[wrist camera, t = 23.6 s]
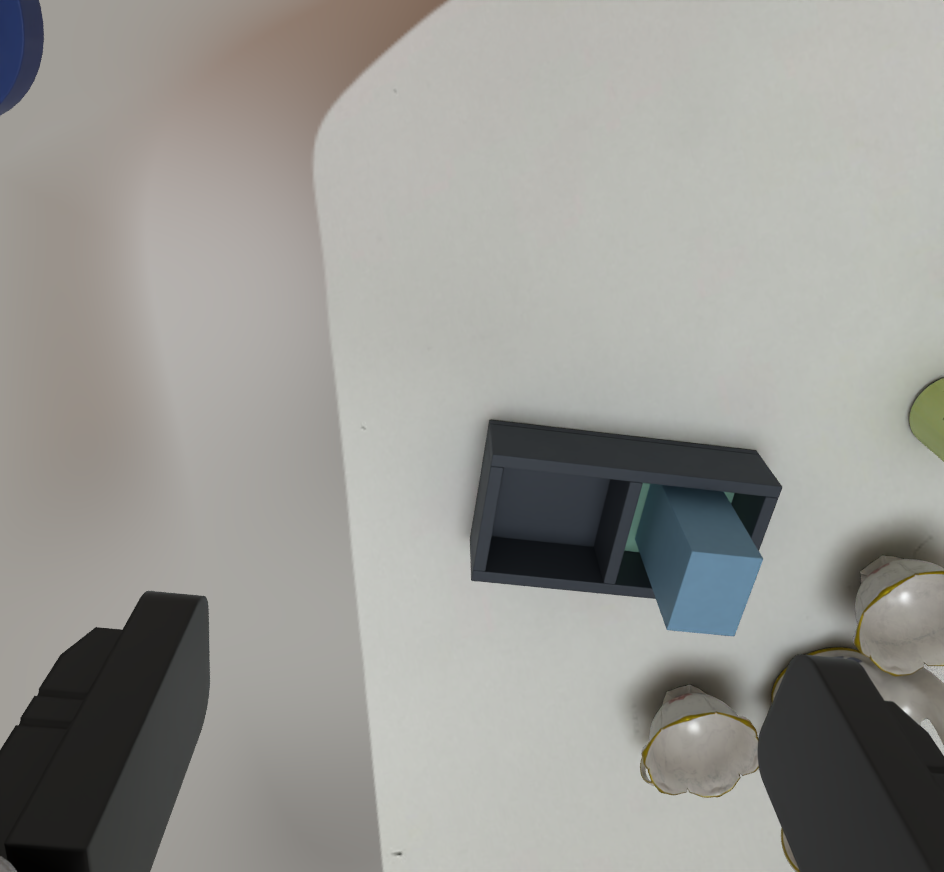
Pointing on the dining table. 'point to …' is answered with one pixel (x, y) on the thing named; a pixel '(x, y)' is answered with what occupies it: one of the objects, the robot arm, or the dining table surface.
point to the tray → (593, 503)
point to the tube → (930, 418)
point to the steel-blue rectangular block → (697, 558)
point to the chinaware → (876, 637)
